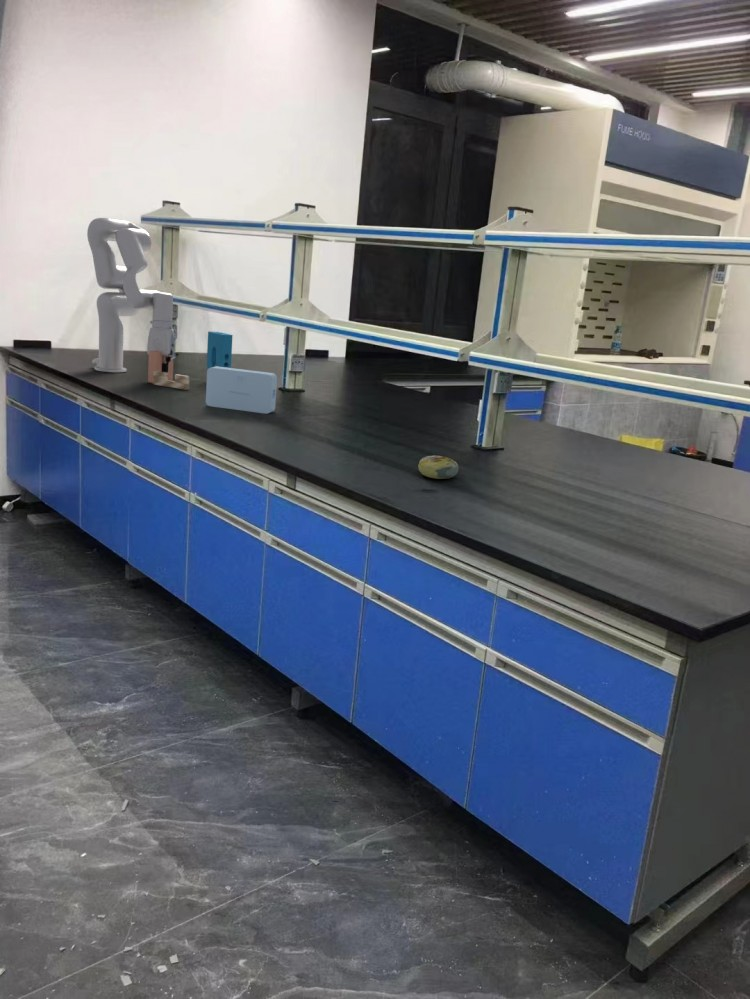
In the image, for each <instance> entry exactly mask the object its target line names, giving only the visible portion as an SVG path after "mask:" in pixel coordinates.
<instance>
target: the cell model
mask: <svg viewBox="0 0 750 999" xmlns="http://www.w3.org/2000/svg"><path fill="white" fill-rule="evenodd" d="M417 466H418V471H419V473H421V475H423V476H424V477H426V478H427V477H428V478H431V479H437V480H443V479H451V478H452V477H455V476H456V475H457V474H458V473H459V464H458V463H457V461H455V460H454V459H452V458H450V457H447V456H442V455H428V456H427V455H426V456H424V457H421V459H420V460H419V463H418V465H417Z"/></svg>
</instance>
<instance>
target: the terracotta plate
mask: <svg viewBox="0 0 750 999" xmlns="http://www.w3.org/2000/svg"><path fill="white" fill-rule="evenodd" d="M170 356H171V355H170ZM162 363H164V362H163V355H161V354H160V352H159V351H149V355H148V365H147V366H148V367H147V368H148V370H147V371H148V372H147V375H148V376H147V379H148V380H147V383H151V384H153V371H160V372H162ZM168 380H170V381H174V359H172V360H171V361H170V363H168Z"/></svg>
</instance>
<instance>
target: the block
mask: <svg viewBox="0 0 750 999" xmlns="http://www.w3.org/2000/svg"><path fill="white" fill-rule="evenodd" d="M232 352H233V334H230V333H225V332H220V331H211V330H210V331H207V349H206V371H207V370H208V369H209V368H211V367H216V366H218V367H226V368H232Z"/></svg>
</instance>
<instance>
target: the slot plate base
mask: <svg viewBox="0 0 750 999" xmlns="http://www.w3.org/2000/svg"><path fill="white" fill-rule="evenodd" d="M152 385H155V386H160V387H168V388H174V389H180V390H186V391H187V390H189V389H190V375H185V374H184V375H183V374H174V380H173V381H170V380H168V373H166V372H160V371H153V383H152Z"/></svg>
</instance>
